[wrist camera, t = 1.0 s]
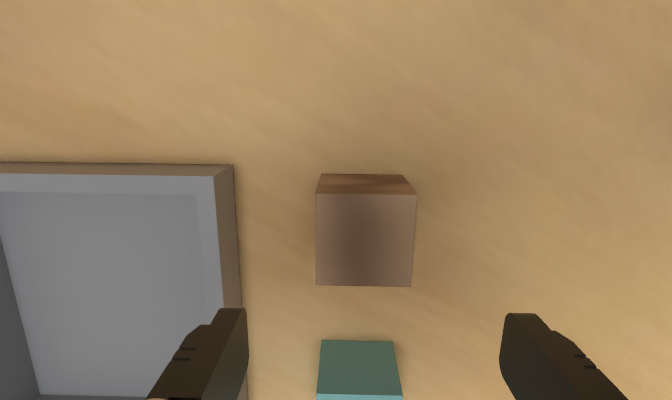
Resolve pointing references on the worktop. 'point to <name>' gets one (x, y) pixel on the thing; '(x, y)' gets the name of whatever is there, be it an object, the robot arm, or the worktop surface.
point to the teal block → (358, 371)
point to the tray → (109, 273)
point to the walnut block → (365, 230)
